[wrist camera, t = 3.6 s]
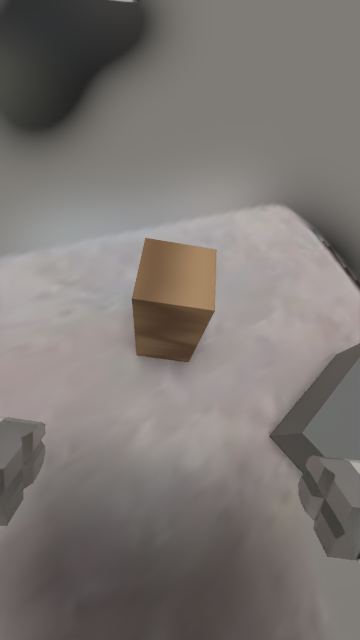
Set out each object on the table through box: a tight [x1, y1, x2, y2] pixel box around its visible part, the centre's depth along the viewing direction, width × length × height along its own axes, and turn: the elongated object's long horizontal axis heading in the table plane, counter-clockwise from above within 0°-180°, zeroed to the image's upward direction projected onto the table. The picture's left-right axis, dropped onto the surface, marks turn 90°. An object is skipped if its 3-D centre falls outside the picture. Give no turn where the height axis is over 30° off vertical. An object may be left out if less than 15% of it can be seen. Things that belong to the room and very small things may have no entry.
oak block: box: [132, 238, 216, 362], centre depth 20 cm, size 5×5×10 cm
